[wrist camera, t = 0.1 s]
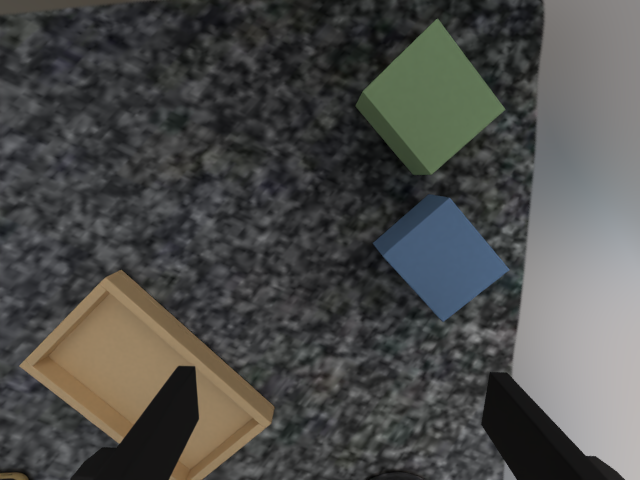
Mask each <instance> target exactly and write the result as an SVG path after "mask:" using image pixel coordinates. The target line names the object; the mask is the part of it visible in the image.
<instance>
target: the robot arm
mask: <svg viewBox="0 0 640 480" xmlns="http://www.w3.org/2000/svg"><path fill="white" fill-rule="evenodd" d="M198 420H199V408H198V395H197V382H196V368H195V366H178V367H177V368H176V369H175V371H174V372H173V373H172V375H171V376H170V377H169V379H168V380H167V381H166V383H165V384H164V385H163V387H162V388H161V389H160V391H159V392H158V393H157V395H156V396H155V397H154V399H153V400H152V401H151V403H150V404H149V405H148V407H147V408H146V409H145V411H144V412H143V413H142V415H141V416H140V417H139V419H138V420H137V421H136V423H135V424H134V425H133V427H132V428H131V429H130V431H129V432H128V433H127V435H126V436H125V437H124V439H123V440H122V441H121V443H120V444H119V445H118V447H117V448H107V447H102V448H101V449H100V450H99V451H97V452H96V453H95V454H94V455H92V456H91V457H90V458H89V459H87V460H86V461H85V462H84V463H83V464H82V465H81V467H80V468H79V469H78V470H77V471H76V473H75V474H74V475H73V476H72V477H71V480H169V479H170V477H171V475H172V472H173V470H174V468H175V466H176V464H177V462H178V460H179V458H180V456H181V454H182V452H183V450H184V448H185V446H186V444H187V442H188V440H189V438H190V436H191V434H192V432H193V430H194V428H195V426H196V424H197V422H198ZM481 425H482V426H483V428H484V429H485V431H486V433H487V434H488V436H489V437H490V439H491V440H492V442H493V443H494V445H495V446H496V448H497V450H498V451H499V453H500V454H501V456H502V457H503V459H504V460H505V462H506V463H507V465H508V467H509V468H510V470H511V471H512V473H513V474H514V476H515V477H516V479H517V480H625V479H624V478H622V476H621V475H620V474H619V473H618V472H617V471H615V470H614V469H613V468H611V467H610V466H608V465H607V464H606V463H604V462H603V461H601V460H600V459H599V458H597V457H596V456H585V455H584V454H583V452H582V451H580V449H579V448H578V447H577V446H576V445H575V444H574V443H573V442H572V441H571V440H570V439H569V438H568V437H567V436H566V435H565V433H564V432H563V431H562V430H561V429H560V428H559V427H558V426H557V425H556V424H555V423H554V422H553V421H552V420H551V419H550V418H549V417H548V416H547V415H546V413H545V412H544V411H543V410H542V409H541V408H540V407H539V406H538V405H537V404H536V403H535V402H534V401H533V400H532V399H531V398H530V396H528V394H527V393H526V392H525V391H524V390H523V389H522V388H521V387H520V386H519V385H518V384H517V383H516V382H515V381H514V380H513V378H512V377H511V376H510V375H509V374H508V373H499V372H490V374H489V381H488V387H487V393H486V399H485V405H484V411H483V417H482V423H481Z"/></svg>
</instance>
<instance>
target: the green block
mask: <svg viewBox="0 0 640 480" xmlns="http://www.w3.org/2000/svg"><path fill="white" fill-rule="evenodd" d="M356 108H357V109H358V110H359V111H360V112H361V114H362V115H363V116H364V117H365V118H366V120H367V121H368V122H369V123H370V124H371V125H372V127H373V128H374V129H375V130H376V131H377V133H378V134H379V135H380V136H381V137H382V139H383V140H384V141H385V142H386V143H387V144H388V146H389V147H390V148H391V149H392V150H393V152H394V153H395V154H396V155H397V156H398V158H399V159H400V160H401V161H402V162H403V163H404V165H405V166H406V167H407V168H408V169H409V171H410V172H411V173H412V174H413V175H432V174H433V173H434V172H435V171H436V170H437V169H439V168H440V167H441V166H442V165H443V164H444V163H445V162H447V161H448V160H449V159H450V158H451V157H452V156H453V155H454V154H456V153H457V152H458V151H459V150H460V149H461V148H462V147H463V146H465V145H466V144H467V143H468V142H469V141H470V140H471V139H473V138H474V137H475V136H476V135H477V134H478V133H479V132H480V131H482V130H483V129H484V128H485V127H486V126H487V125H488V124H490V123H491V122H492V121H493V120H494V119H495V118H496V117H497V116H499V115H500V114H501V113H502V112H503V111H504V110H505V108H504V107H503V106H502V104H501V103H500V102H499V100H498V99H497V98H496V96H495V95H494V94H493V92H492V91H491V90H490V88H489V87H488V86H487V84H486V83H485V81H484V80H483V79H482V77H481V76H480V75H479V73H478V72H477V71H476V69H475V68H474V67H473V65H472V64H471V63H470V61H469V60H468V59H467V57H466V56H465V55H464V53H463V52H462V51H461V49H460V48H459V47H458V45H457V44H456V43H455V41H454V40H453V38H452V37H451V36H450V34H449V33H448V32H447V30H446V29H445V28H444V26H443V25H442V24H441V22H440V21H439V20H438V19H436V20H435V21H434V22H433V23H432V24H431V25H430V26H429V27H428V28H427V29H426V30H425V31H424V32H423V33H422V34H421V35H420V36H419V37H418V38H417V39H416V40H415V41H413V42H412V43H411V44H410V45H409V46H408V47H407V48H406V49H405V50H404V51H403V52H402V53H401V54H400V55H399V56H398V57H397V58H396V59H395V60H394V61H393V62H392V63H391V64H390V65H389V66H388V67H387V68H386V69H385V70H384V71H383V72H382V73H381V74H380V75H379V76H378V77H377V78H376V79H375V80H374V81H373V82H372V83H371V84H370V85H368V86H367V87H366V88H365V89H364V90H363V92H362V94H361V96H360V98H359V100H358V102H357V104H356Z"/></svg>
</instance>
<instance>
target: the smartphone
mask: <svg viewBox="0 0 640 480" xmlns="http://www.w3.org/2000/svg"><path fill="white" fill-rule="evenodd" d="M0 480H29V479H28V477H27V476H26V475H25V474H23V473H19V472H11V473H0Z"/></svg>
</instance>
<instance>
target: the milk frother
mask: <svg viewBox="0 0 640 480" xmlns="http://www.w3.org/2000/svg"><path fill="white" fill-rule="evenodd" d="M370 480H425V479H423V478H421V477H419V476H417V475H413V474H409V473H404V472H391V473H385V474H381V475H378V476H376V477H374V478H371V479H370Z"/></svg>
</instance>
